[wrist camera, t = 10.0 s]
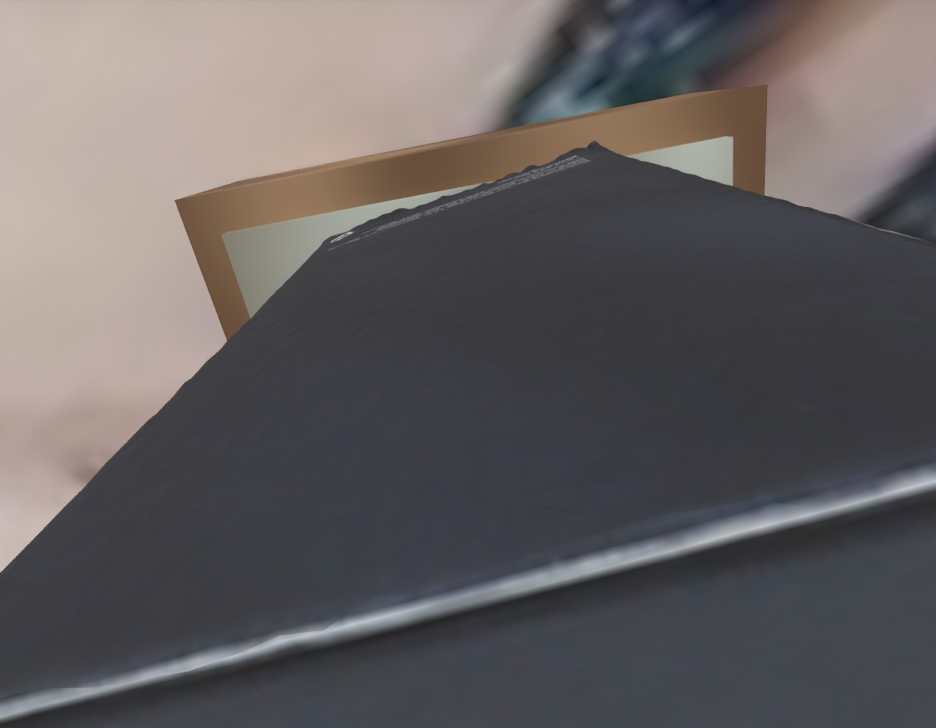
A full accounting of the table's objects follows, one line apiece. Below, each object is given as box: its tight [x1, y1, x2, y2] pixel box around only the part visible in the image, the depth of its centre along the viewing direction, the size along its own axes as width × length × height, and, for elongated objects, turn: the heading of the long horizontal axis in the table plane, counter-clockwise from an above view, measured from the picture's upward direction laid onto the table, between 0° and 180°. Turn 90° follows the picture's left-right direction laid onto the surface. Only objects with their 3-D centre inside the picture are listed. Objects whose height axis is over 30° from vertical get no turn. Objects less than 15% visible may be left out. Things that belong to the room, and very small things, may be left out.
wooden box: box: [175, 85, 767, 341], centre depth 15 cm, size 12×12×4 cm
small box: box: [0, 141, 936, 728], centre depth 9 cm, size 11×6×10 cm, turn 18°
